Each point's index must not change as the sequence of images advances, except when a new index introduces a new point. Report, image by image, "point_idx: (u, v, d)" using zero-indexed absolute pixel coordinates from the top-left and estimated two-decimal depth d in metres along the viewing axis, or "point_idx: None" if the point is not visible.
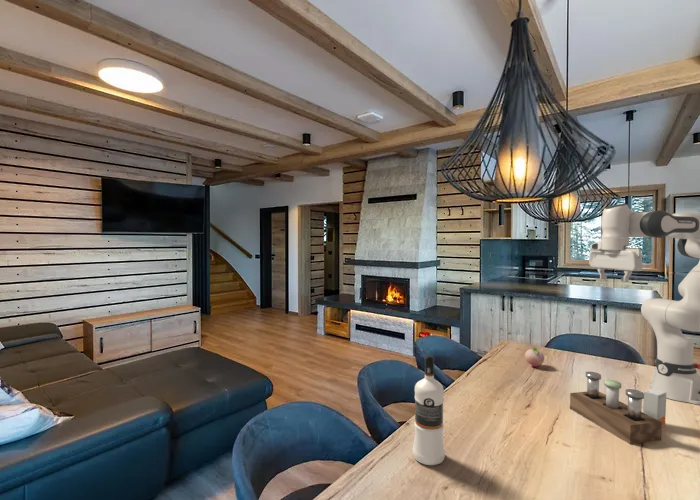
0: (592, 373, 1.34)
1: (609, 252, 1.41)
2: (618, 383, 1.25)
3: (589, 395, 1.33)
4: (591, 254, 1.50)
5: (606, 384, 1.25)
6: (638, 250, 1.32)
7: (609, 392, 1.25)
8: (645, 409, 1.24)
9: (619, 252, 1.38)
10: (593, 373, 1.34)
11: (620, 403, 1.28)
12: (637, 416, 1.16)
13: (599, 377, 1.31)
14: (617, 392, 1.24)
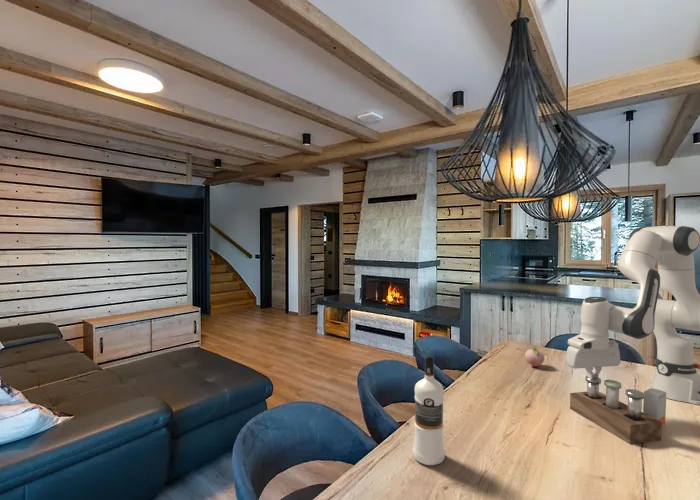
0: None
1: (602, 350, 1.30)
2: (618, 383, 1.25)
3: None
4: (579, 354, 1.29)
5: (606, 384, 1.25)
6: (617, 344, 1.35)
7: (609, 392, 1.25)
8: (645, 409, 1.24)
9: (606, 349, 1.32)
10: None
11: (620, 403, 1.28)
12: (637, 416, 1.16)
13: (599, 381, 1.31)
14: (617, 392, 1.24)
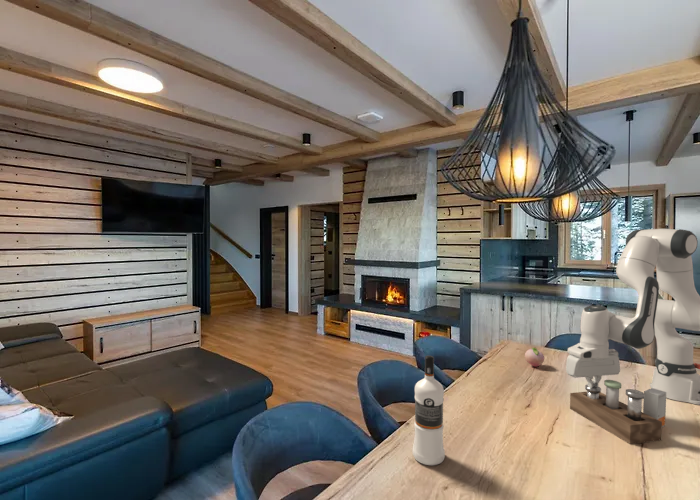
0: None
1: (602, 359, 1.30)
2: (618, 383, 1.25)
3: None
4: (579, 363, 1.29)
5: (606, 384, 1.25)
6: (617, 353, 1.35)
7: (609, 392, 1.25)
8: (645, 409, 1.24)
9: (606, 358, 1.32)
10: None
11: (620, 403, 1.28)
12: (637, 416, 1.16)
13: (599, 390, 1.31)
14: (617, 392, 1.24)
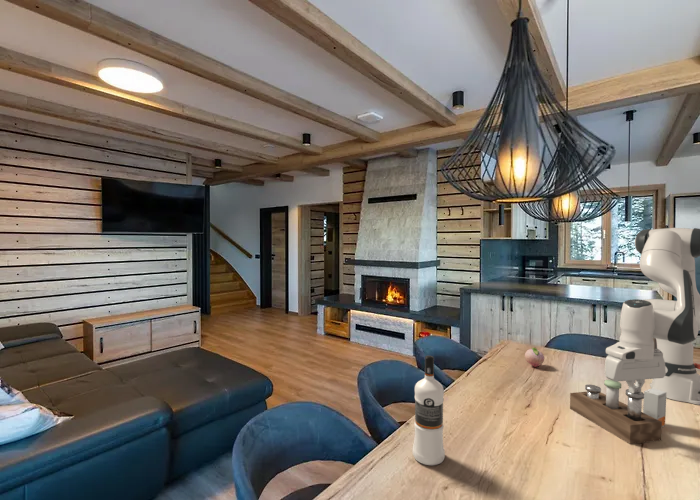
0: (591, 386, 1.35)
1: (646, 361, 1.15)
2: (618, 383, 1.25)
3: None
4: (620, 365, 1.14)
5: (606, 384, 1.25)
6: (662, 353, 1.19)
7: (609, 392, 1.25)
8: (645, 409, 1.24)
9: (650, 359, 1.16)
10: (592, 386, 1.34)
11: (620, 403, 1.28)
12: (637, 416, 1.16)
13: (599, 390, 1.31)
14: (617, 392, 1.24)
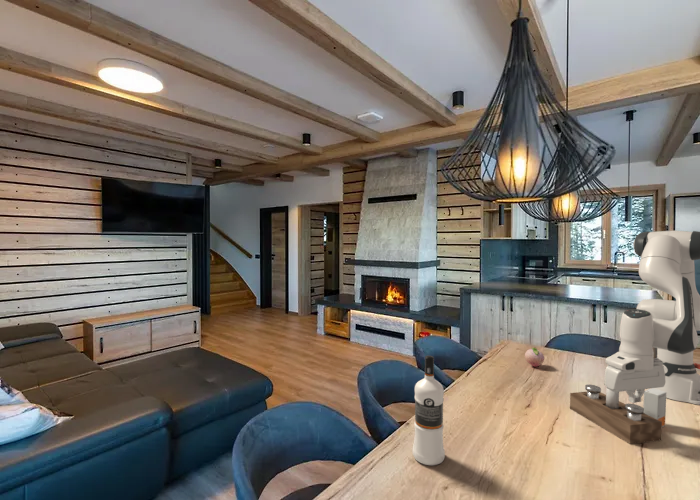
0: (591, 386, 1.35)
1: (646, 371, 1.15)
2: None
3: None
4: (620, 376, 1.14)
5: None
6: (661, 363, 1.19)
7: (609, 392, 1.25)
8: (645, 409, 1.24)
9: (650, 368, 1.17)
10: (592, 386, 1.34)
11: (620, 403, 1.28)
12: None
13: (599, 390, 1.31)
14: (617, 392, 1.24)
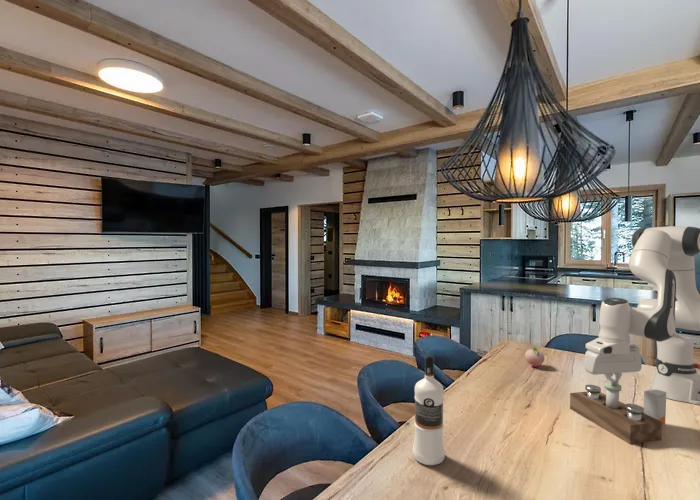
0: (591, 386, 1.35)
1: (623, 355, 1.22)
2: (618, 385, 1.25)
3: None
4: (598, 359, 1.22)
5: (606, 386, 1.25)
6: (638, 348, 1.27)
7: (609, 394, 1.25)
8: (645, 409, 1.24)
9: (627, 353, 1.24)
10: (592, 386, 1.34)
11: (620, 403, 1.28)
12: None
13: (599, 390, 1.31)
14: (617, 394, 1.24)
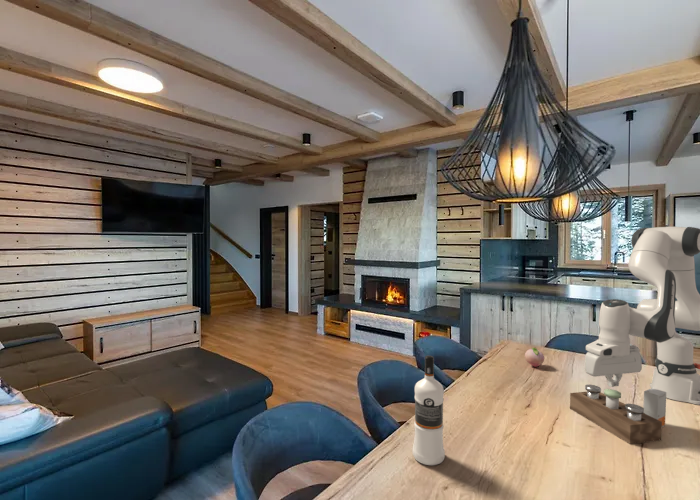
0: (591, 386, 1.35)
1: (623, 357, 1.23)
2: (618, 393, 1.25)
3: None
4: (598, 361, 1.22)
5: (606, 393, 1.26)
6: (638, 349, 1.27)
7: (608, 401, 1.25)
8: (645, 409, 1.24)
9: (627, 354, 1.24)
10: (592, 386, 1.34)
11: (620, 403, 1.28)
12: None
13: (599, 390, 1.31)
14: (617, 402, 1.24)
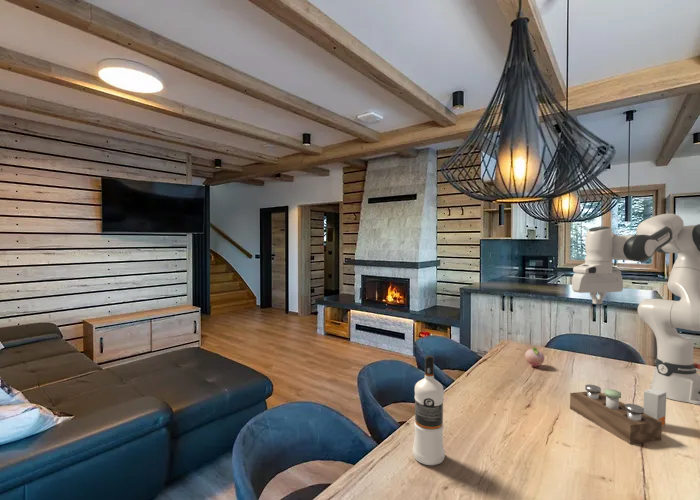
0: (591, 386, 1.35)
1: (606, 275, 1.38)
2: (618, 393, 1.25)
3: None
4: (584, 279, 1.37)
5: (606, 393, 1.26)
6: (620, 272, 1.42)
7: (608, 401, 1.25)
8: (645, 409, 1.24)
9: (610, 275, 1.40)
10: (592, 386, 1.34)
11: (620, 403, 1.28)
12: None
13: (599, 390, 1.31)
14: (617, 402, 1.24)
